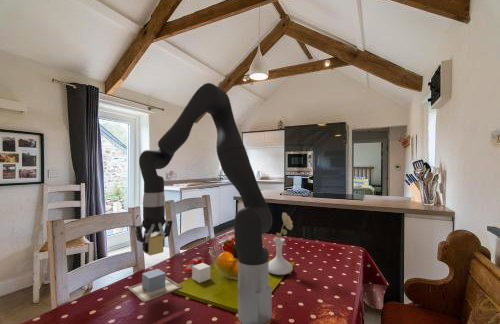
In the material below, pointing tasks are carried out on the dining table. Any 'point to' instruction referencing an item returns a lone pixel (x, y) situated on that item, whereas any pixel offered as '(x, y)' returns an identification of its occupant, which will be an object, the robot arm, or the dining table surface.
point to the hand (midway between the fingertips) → (153, 250)
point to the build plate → (147, 296)
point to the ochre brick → (155, 244)
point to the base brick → (153, 280)
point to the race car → (193, 264)
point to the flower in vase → (279, 263)
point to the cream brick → (201, 272)
